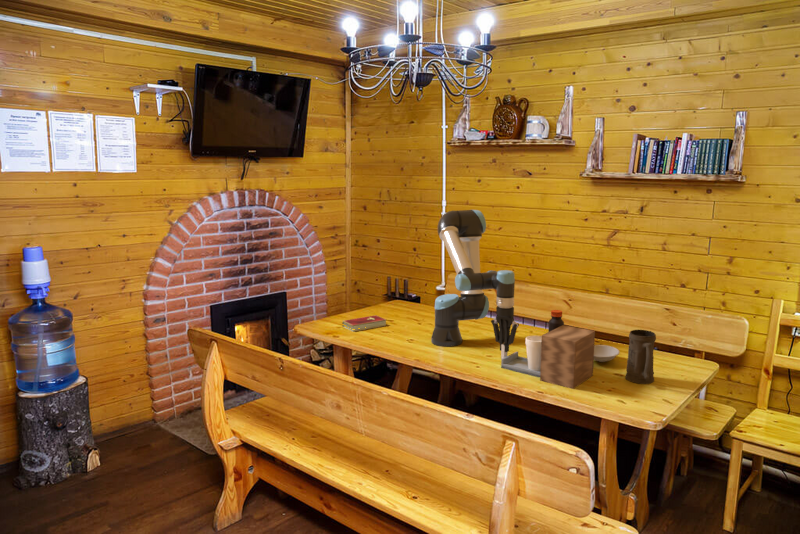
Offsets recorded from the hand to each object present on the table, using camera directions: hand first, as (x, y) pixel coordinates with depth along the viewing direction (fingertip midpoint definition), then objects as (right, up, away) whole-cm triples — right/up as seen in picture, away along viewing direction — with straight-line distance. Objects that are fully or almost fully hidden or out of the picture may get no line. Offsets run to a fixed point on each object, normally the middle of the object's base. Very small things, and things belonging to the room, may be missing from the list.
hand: (504, 358), depth 255 cm
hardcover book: (-65, +7, +61) cm, 89 cm away
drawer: (+10, -3, -8) cm, 13 cm away
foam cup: (+12, -3, -10) cm, 15 cm away
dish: (+43, -2, +1) cm, 43 cm away
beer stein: (+51, -6, -23) cm, 57 cm away
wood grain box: (+22, -5, -18) cm, 29 cm away
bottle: (+26, 0, +13) cm, 29 cm away
